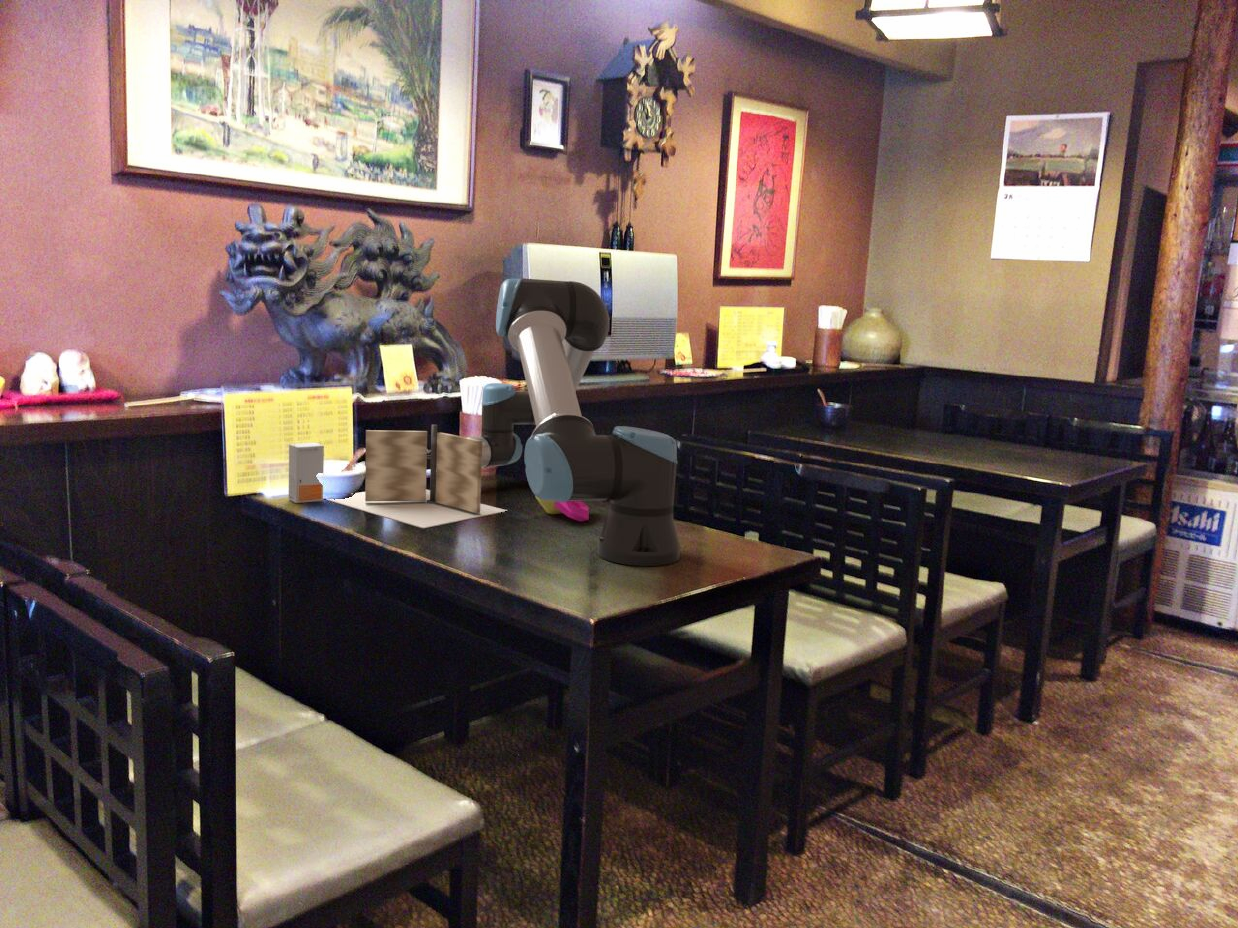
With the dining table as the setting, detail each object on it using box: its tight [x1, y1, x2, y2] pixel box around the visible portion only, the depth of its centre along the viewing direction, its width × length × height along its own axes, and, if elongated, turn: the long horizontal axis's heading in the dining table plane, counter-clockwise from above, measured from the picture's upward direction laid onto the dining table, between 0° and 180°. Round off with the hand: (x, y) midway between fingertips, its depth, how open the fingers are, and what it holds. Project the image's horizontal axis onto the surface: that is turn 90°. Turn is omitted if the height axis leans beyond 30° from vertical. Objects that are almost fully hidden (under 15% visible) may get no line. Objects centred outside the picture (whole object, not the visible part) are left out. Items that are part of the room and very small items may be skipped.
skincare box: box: [288, 442, 325, 504], centre depth 210 cm, size 6×4×12 cm
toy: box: [534, 495, 590, 523], centre depth 211 cm, size 10×18×10 cm, turn 30°
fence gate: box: [364, 429, 428, 501], centre depth 211 cm, size 12×1×15 cm, turn 105°
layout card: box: [325, 488, 508, 529], centre depth 212 cm, size 32×23×1 cm
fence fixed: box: [427, 424, 483, 513], centre depth 209 cm, size 15×3×17 cm, turn 52°
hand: (382, 465), depth 212 cm, fingers closed
